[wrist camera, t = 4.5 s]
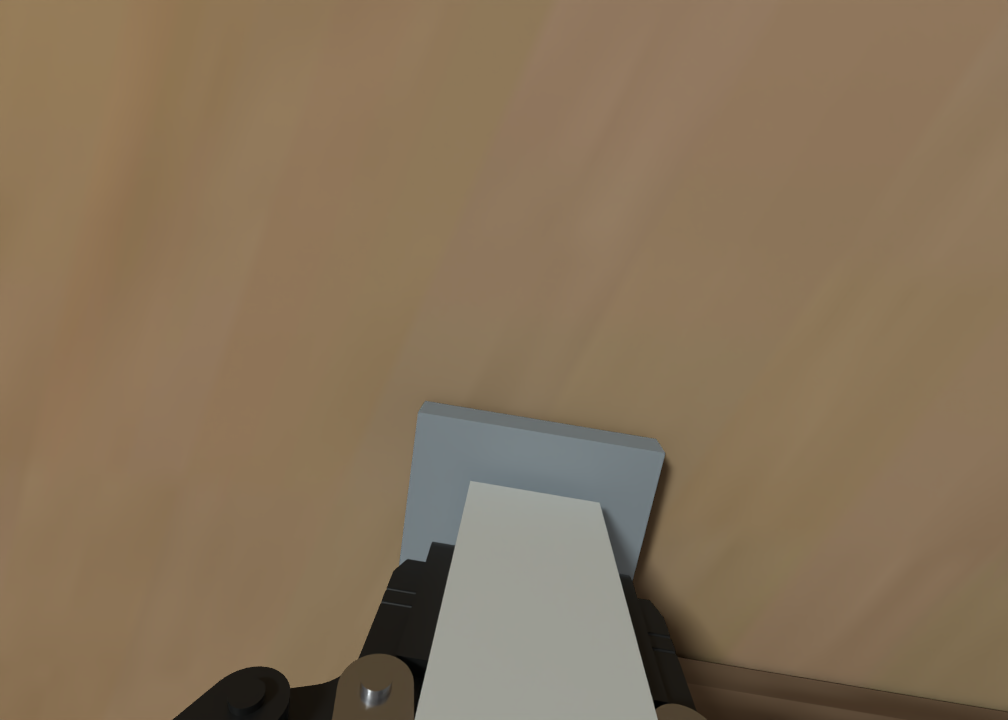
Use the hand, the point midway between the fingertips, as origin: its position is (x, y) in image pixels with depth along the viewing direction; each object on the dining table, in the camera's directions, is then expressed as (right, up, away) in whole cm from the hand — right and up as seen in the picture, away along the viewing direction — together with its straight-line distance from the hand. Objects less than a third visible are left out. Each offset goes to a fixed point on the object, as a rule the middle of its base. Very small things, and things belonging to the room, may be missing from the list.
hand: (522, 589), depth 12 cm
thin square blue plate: (0, +1, +3) cm, 3 cm away
